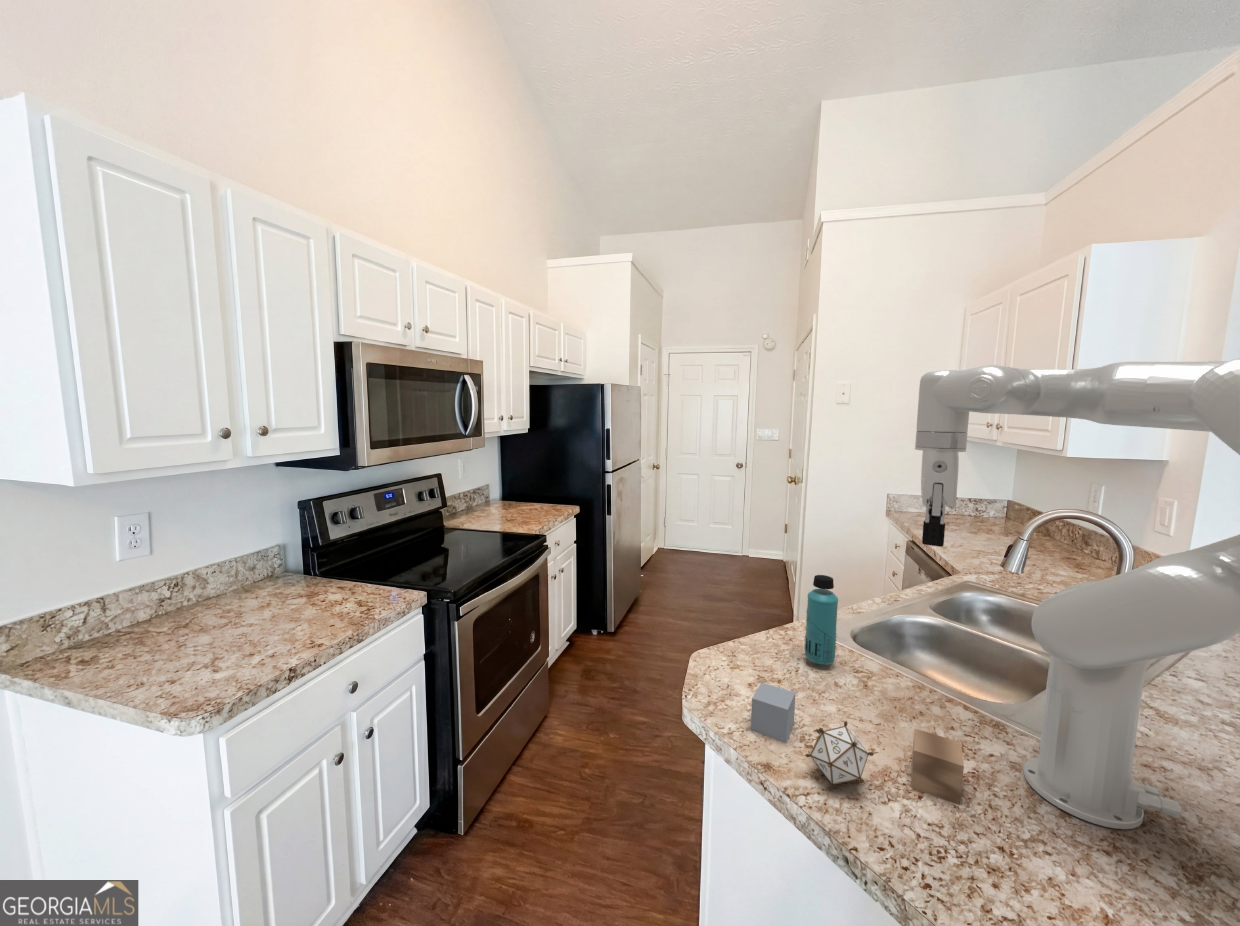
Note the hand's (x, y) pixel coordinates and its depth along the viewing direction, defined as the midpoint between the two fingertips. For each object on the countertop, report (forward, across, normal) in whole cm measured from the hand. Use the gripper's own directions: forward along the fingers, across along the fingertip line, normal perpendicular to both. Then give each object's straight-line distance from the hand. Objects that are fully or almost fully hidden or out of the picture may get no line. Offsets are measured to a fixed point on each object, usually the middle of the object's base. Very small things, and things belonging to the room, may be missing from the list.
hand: (932, 544), depth 86 cm
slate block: (+32, -19, +22) cm, 43 cm away
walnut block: (+32, -19, -2) cm, 37 cm away
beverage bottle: (+32, +9, +19) cm, 39 cm away
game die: (+32, -26, +10) cm, 43 cm away
